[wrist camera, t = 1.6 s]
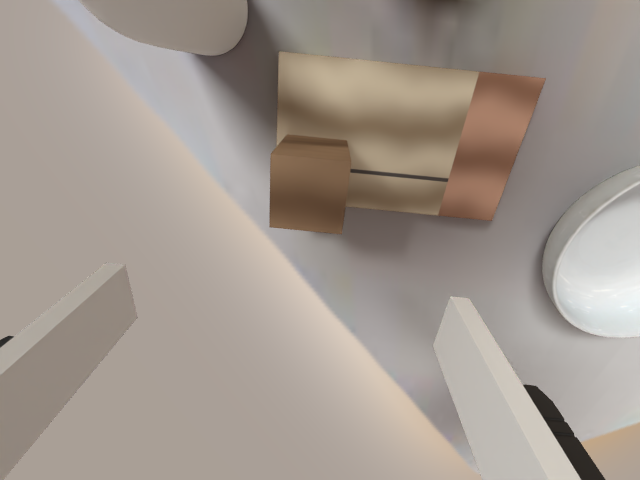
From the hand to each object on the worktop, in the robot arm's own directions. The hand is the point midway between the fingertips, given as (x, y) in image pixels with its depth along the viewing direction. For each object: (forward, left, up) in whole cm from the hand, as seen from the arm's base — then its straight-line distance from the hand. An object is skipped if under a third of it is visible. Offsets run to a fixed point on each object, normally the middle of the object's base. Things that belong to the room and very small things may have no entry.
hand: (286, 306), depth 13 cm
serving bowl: (+5, +36, -25) cm, 44 cm away
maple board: (-3, +8, -25) cm, 26 cm away
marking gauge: (+1, 0, -24) cm, 24 cm away
